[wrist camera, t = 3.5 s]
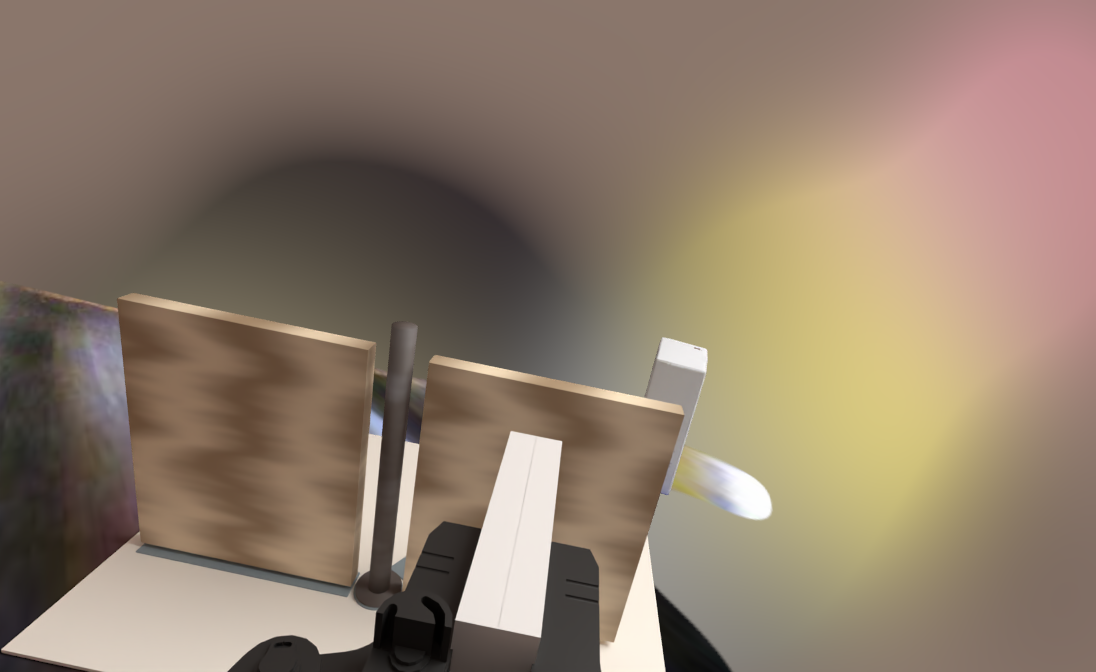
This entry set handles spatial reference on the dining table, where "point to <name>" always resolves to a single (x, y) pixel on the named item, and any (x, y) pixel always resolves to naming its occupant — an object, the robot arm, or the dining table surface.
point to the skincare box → (677, 388)
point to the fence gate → (584, 474)
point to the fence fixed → (263, 440)
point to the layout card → (257, 606)
